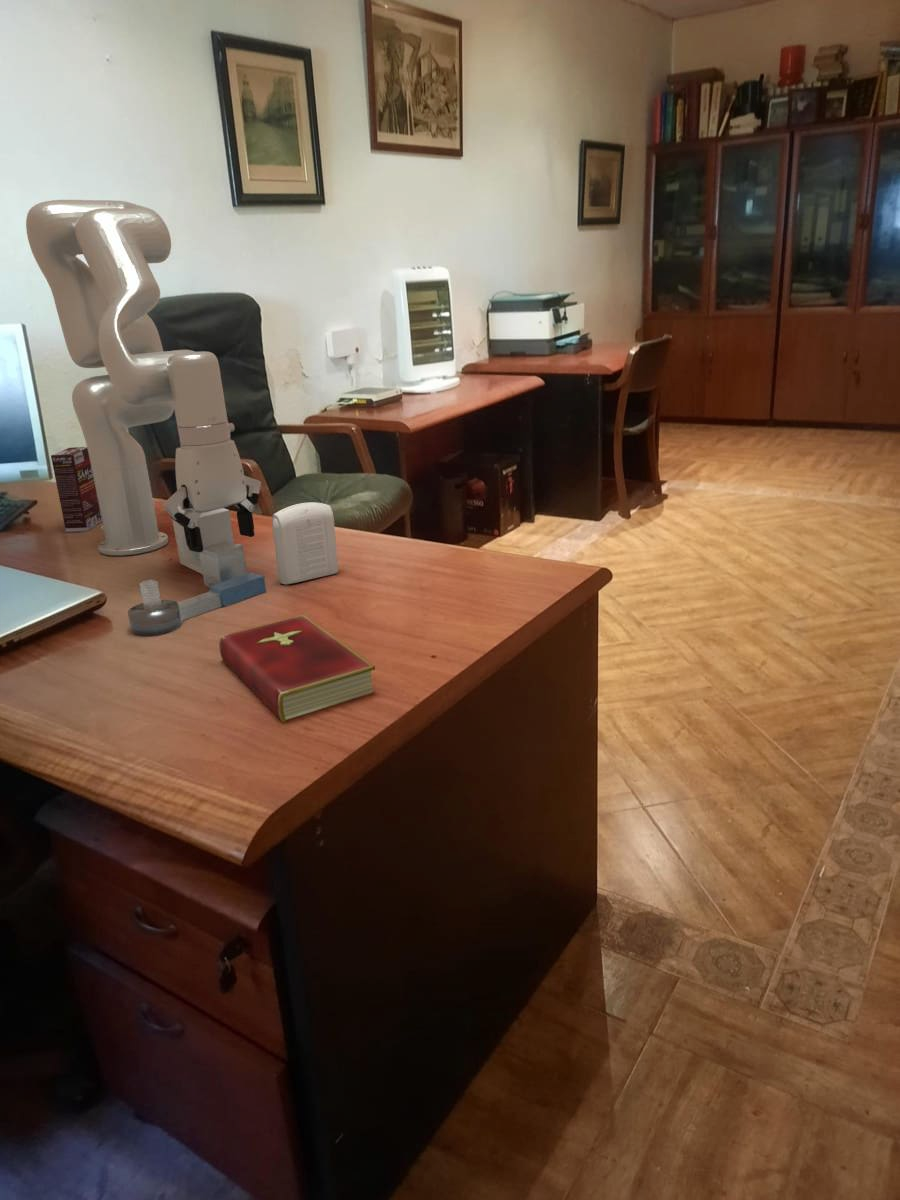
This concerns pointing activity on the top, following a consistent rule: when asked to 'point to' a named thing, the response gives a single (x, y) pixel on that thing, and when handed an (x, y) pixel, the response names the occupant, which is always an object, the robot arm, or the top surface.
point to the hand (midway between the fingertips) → (222, 543)
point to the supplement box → (76, 489)
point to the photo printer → (304, 542)
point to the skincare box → (204, 535)
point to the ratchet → (187, 604)
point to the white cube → (222, 562)
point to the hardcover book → (296, 666)
